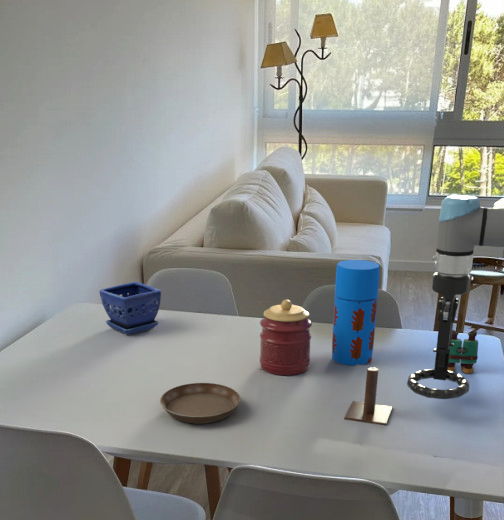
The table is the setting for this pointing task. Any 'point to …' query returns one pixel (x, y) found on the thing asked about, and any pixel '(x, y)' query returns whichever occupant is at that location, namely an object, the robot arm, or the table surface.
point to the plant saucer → (200, 402)
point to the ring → (438, 393)
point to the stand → (369, 404)
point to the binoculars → (463, 352)
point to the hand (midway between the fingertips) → (440, 376)
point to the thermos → (355, 311)
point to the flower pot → (131, 307)
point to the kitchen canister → (285, 339)
